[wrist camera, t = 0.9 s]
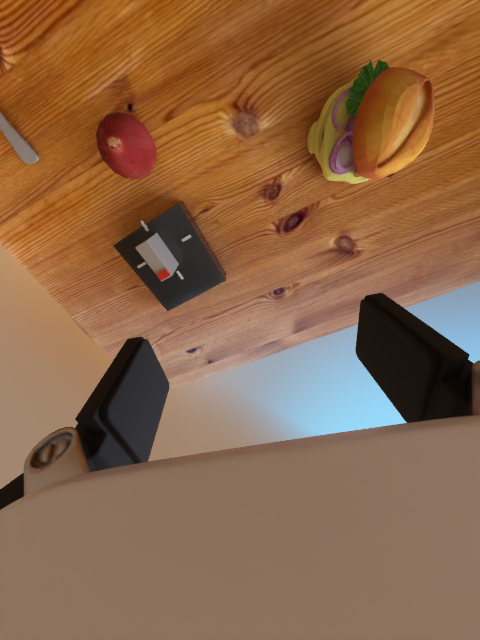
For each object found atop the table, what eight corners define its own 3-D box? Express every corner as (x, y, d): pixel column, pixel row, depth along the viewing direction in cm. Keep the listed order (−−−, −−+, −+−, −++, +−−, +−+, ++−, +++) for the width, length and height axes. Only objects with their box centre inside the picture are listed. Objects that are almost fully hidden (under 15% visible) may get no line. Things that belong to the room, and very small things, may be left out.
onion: (128, 183, 30) (98, 185, 23) (105, 128, 27) (63, 112, 20) (170, 172, 29) (152, 170, 23) (151, 114, 26) (124, 93, 20)
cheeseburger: (307, 80, 25) (376, 29, 17) (386, 84, 27) (481, 42, 19) (298, 186, 30) (348, 186, 22) (365, 182, 33) (433, 181, 25)
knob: (146, 238, 31) (133, 248, 27) (157, 232, 30) (145, 240, 26) (169, 270, 33) (161, 282, 29) (179, 264, 33) (172, 276, 29)
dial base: (118, 236, 33) (109, 241, 31) (180, 196, 31) (175, 198, 28) (171, 302, 40) (167, 311, 37) (226, 273, 37) (225, 281, 34)
